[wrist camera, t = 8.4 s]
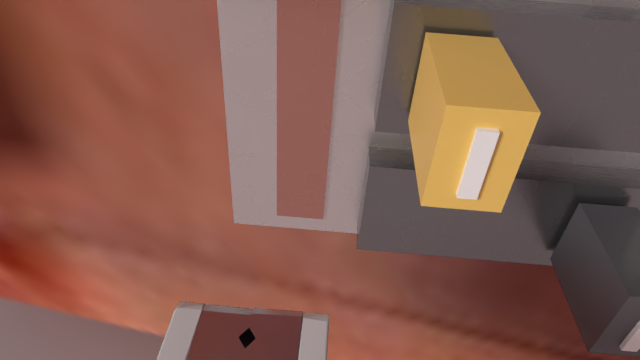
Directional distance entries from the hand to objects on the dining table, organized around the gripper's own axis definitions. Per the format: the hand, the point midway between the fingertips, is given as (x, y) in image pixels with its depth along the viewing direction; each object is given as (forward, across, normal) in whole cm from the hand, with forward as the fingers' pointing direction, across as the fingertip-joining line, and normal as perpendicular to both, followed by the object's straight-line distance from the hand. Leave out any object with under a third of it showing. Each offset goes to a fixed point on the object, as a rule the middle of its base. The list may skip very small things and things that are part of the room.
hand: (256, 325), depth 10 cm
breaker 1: (+11, -5, -1) cm, 12 cm away
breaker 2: (+11, -13, +6) cm, 18 cm away
